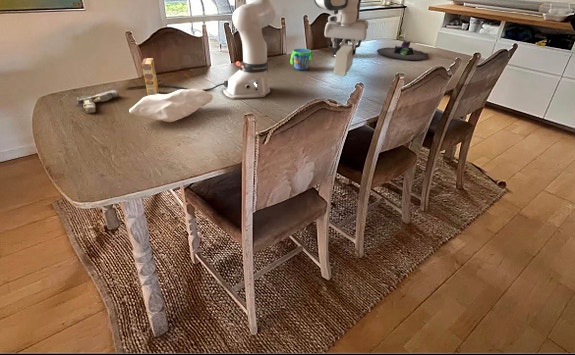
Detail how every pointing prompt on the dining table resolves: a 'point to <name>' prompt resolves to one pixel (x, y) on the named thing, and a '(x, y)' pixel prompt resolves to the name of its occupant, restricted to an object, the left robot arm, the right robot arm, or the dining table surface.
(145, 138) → the dining table surface
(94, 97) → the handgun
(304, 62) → the snack cup
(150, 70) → the candy box
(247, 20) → the left robot arm
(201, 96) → the crumpled cloth
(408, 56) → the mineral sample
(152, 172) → the dining table surface
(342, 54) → the box
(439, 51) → the dining table surface
